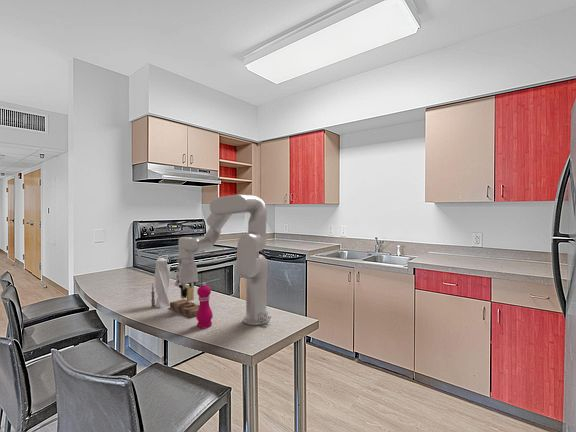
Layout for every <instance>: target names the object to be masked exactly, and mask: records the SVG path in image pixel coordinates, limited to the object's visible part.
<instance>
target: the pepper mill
mask: <svg viewBox="0 0 576 432" xmlns="http://www.w3.org/2000/svg"><path fill="white" fill-rule="evenodd" d="M196 293H197V295H198V301H199V304H198V305H199V309H198V312H197V315H196V317H195V319H196V320H197V328H199V329H208V328H211V326H212V325H213V323H212V322H213V321H212V319H213V311H212V309H211V307H210V299H211V298H210V297H211V296H210V295H211V293H212V289H211V287H210V286H208V285H207V283H206V282H202V283H201V285H200V286H199V287H198V288H197V291H196Z"/></svg>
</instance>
